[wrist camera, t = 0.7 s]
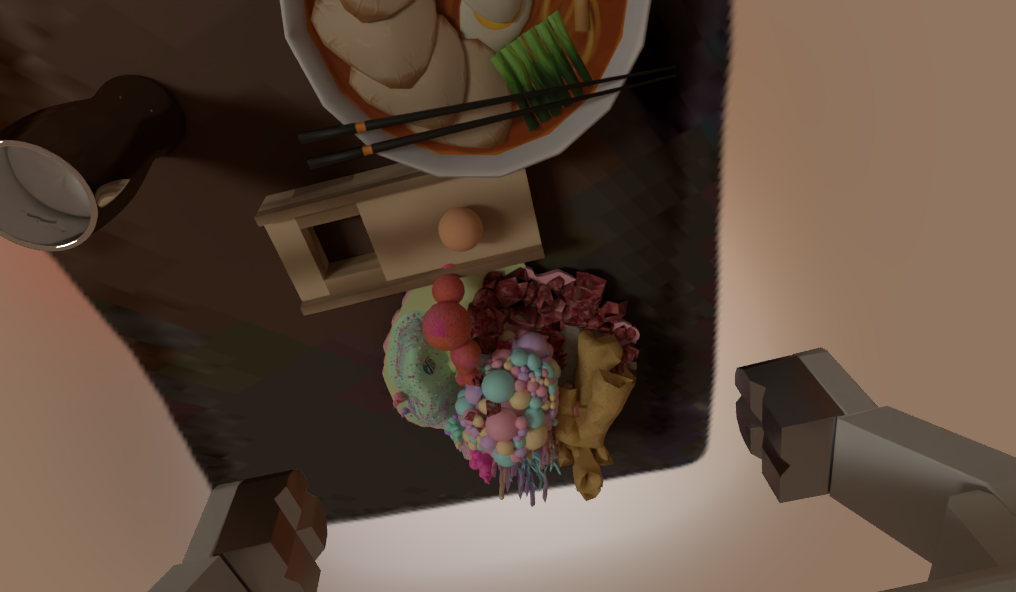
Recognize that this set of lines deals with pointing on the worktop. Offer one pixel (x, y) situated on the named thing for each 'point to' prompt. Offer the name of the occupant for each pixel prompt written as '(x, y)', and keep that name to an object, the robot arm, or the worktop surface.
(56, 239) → the beer glass
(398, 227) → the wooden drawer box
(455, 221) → the ball
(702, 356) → the worktop surface
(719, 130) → the worktop surface
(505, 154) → the ramen bowl
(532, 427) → the pastel sphere sculpture
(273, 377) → the worktop surface
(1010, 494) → the robot arm
